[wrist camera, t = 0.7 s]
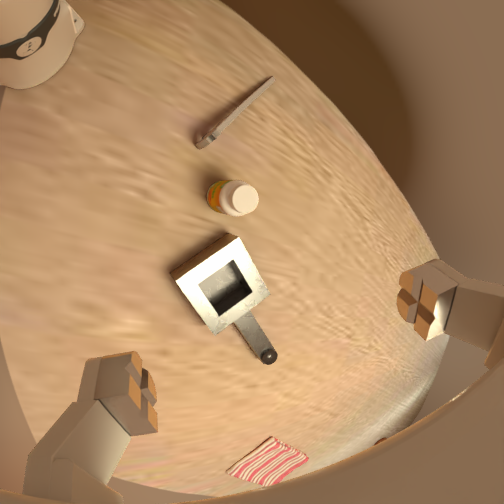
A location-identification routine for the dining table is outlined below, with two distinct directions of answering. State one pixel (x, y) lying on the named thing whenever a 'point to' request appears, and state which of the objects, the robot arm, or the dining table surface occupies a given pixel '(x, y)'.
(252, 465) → the dish towel
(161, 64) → the dining table surface
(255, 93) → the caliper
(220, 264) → the ratchet holder
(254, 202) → the supplement bottle
